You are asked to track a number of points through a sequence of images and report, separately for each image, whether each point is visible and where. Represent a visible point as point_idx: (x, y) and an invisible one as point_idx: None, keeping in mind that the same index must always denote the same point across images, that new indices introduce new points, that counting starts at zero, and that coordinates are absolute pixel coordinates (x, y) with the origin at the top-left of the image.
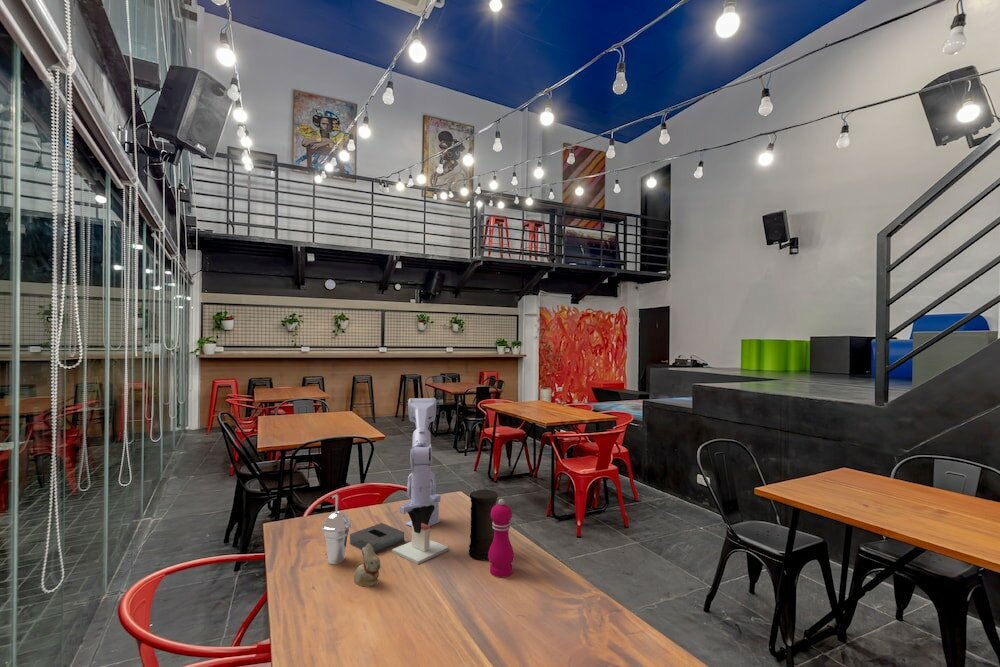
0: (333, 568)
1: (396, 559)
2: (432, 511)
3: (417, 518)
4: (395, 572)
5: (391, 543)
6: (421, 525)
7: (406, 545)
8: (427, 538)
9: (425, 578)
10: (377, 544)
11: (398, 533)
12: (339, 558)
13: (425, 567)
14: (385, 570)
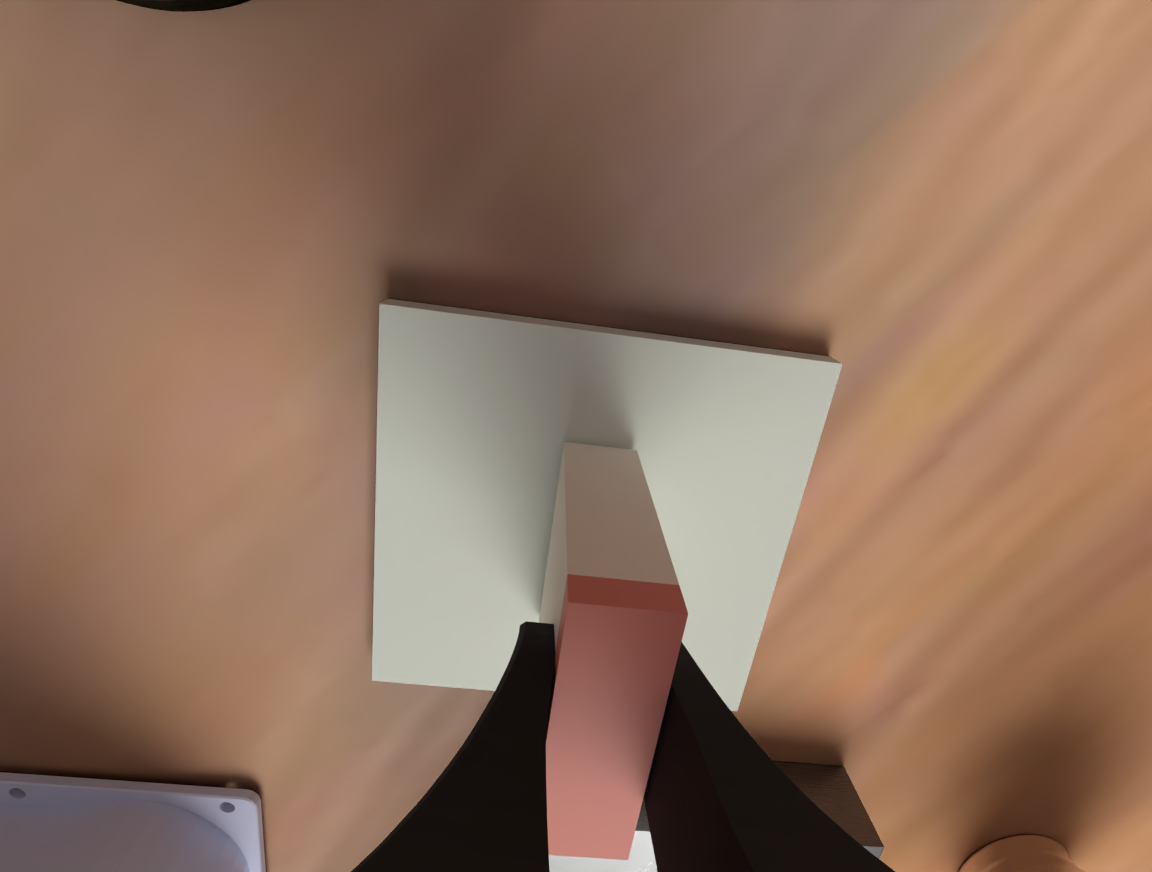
0: (1120, 812)
1: (827, 580)
2: (409, 852)
3: (866, 852)
4: (1048, 424)
5: None
6: (631, 710)
7: None
8: (602, 507)
9: (1077, 61)
10: None
11: None
12: (1071, 868)
13: (854, 241)
14: (1040, 519)
